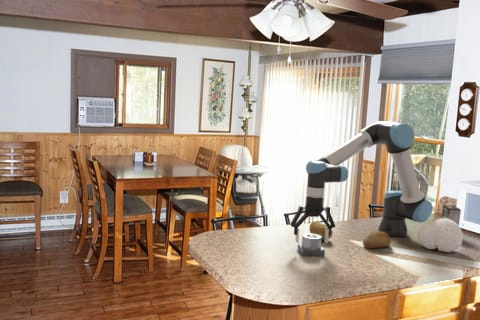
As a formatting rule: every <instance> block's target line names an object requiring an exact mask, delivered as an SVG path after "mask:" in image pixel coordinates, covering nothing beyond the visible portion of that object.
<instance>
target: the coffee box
mask: <svg viewBox="0 0 480 320" xmlns="http://www.w3.org/2000/svg"><path fill="white" fill-rule="evenodd" d="M441 209H442V210H441V218H442V219H443V218H447V219H450V220H452V221H454V222H456V223H457V224H458V225H459V226H460V220H461V213H462V211H461V210H462V209H460V208H459V207H457V206H455V205H450V204H449V205H446V204H444V205H443V204H442V208H441Z"/></svg>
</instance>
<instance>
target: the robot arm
mask: <svg viewBox="0 0 480 320" xmlns="http://www.w3.org/2000/svg"><path fill="white" fill-rule="evenodd" d="M414 139H415V132H414V129H413V128H412V126H411V125H409V124H408V123H404V122H401V121H388V120H387V121H386V120H379V121H376V122H373V123H371V124H370V125H367V126H365V127H364V128H362V129H360V130H359V131H358V133H357V135H354V137H352V138H350V139H349V140H347V141H346V142H344V143H343V144H341V145H339V146H338V147H336V148H335V149H333V150H331V151H330V152H328V153H327V154H325V155H324V156H323V157H321V158H319V159H317V160H308V161H307V163H306V165H305V171H306V172H305V173H307V188H306V200H305V206H301V205H298V209H297V211H296V213H295V214H294V217H293V218H292V219H291V221H290V224H289V225H290V226H291V227H292V228H293V234H294V236H295V243H297V244H300V242H299V241H300V226H301V225H303V223H304V222H305V221H306V220H307V219H308V218H310V217H311V218H313V217H315V218H318V217H319V218H320V219H321V220H322V222H323V224H324V225H326V226H327V227H328V228H325V240H324V242H325V244H328V243H329V239H328V235H329V236H330V235H331V229H332V230H333V228H336V225H335V221H334V219H333V216H332V214H331V208H330V207H329V206H327V205H326V206H324V196H325V185H326V183H343V182H345V181H347V180H348V178H349V171H348V169H347V167H346V165H345V166H344V165H342V164H343V163H344V162H346V161H347V160H349V159H350V158H352V157H354V156H355V155H356V154H358V153H360V152H361V151H363V150H365V149H367V148H372V147H373V146H375V145H382V146H385V147H386V152H387V153H388V154H390V155H391V158H392V161H393V164H394V168H395V172H396V177H397V180H398V184H399V187H400V190H389V191H385V193H384V197H383V208H382V209H383V211H382V218H381V220H380V223H379V225H378V227H377V231H382V232H385V233H387V234H388V235H389V236H390V237H394V238H395V237H396V238H403V237H407V236H408V232H409V231H408V228H407V223H406V220H410V221H413V222H415V223H416V222H417V223H422V224H423V223H424V222H426V221H428V220H429V218H431V215H432V213H433V204H432V202H431V201H429V200H426V196H425V194H424V192H423V191H422V190H420V186H419V182H418V179H417V174H416V170H415V167H414V163H413V158H412V155H411V149H412V147H413V143H414V142H415V141H414ZM304 211H305V212H304ZM323 211H324V212H325V214H326V216H327V218H328V221H329V222H328V221H327V219H326V218H325V216H324V215H323V214H322V213H323ZM303 212H304V213H303ZM302 213H303V215H302ZM301 215H302V216H301Z"/></svg>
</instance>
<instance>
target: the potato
mask: <svg viewBox="0 0 480 320" xmlns="http://www.w3.org/2000/svg"><path fill="white" fill-rule="evenodd" d="M325 228H328V227H327V226H326V224H325V223H321V222H318V221H313V222H311V223H310V224H309V234H317V235H320V236H321V237H322V240H321V241H325ZM333 233H334V231H333V228H332V229H331V235H330V236H329V235H328V240H330V239H331V238H332V237H333Z"/></svg>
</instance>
